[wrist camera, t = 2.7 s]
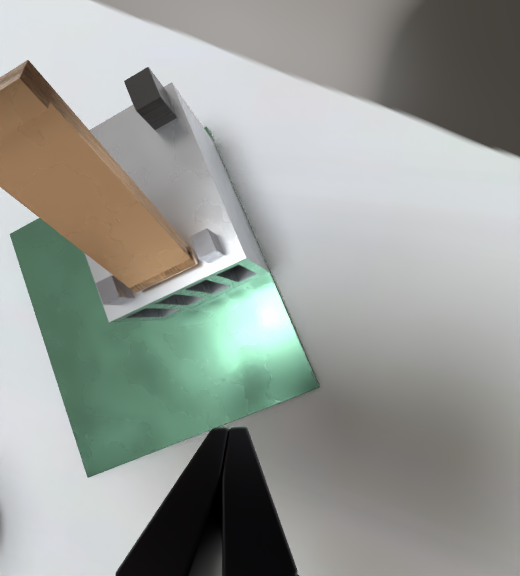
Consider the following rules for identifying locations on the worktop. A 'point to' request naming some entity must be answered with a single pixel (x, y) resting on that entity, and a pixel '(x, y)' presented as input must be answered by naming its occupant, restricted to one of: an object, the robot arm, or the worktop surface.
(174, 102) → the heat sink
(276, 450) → the worktop surface
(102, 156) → the tan flat bar
